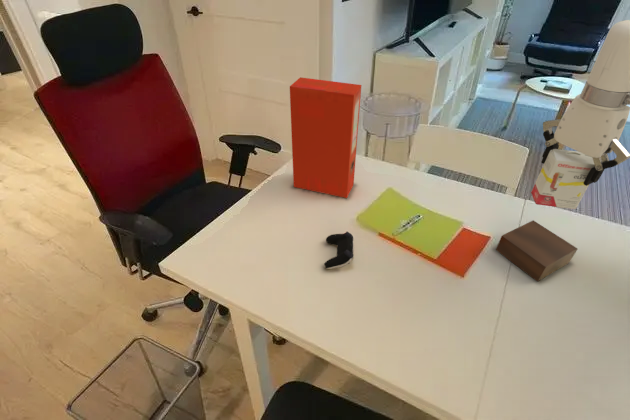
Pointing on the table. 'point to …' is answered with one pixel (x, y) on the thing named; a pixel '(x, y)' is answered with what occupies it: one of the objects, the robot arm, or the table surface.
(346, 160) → the file binder
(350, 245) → the gaming controller
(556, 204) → the ink box
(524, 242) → the walnut block
